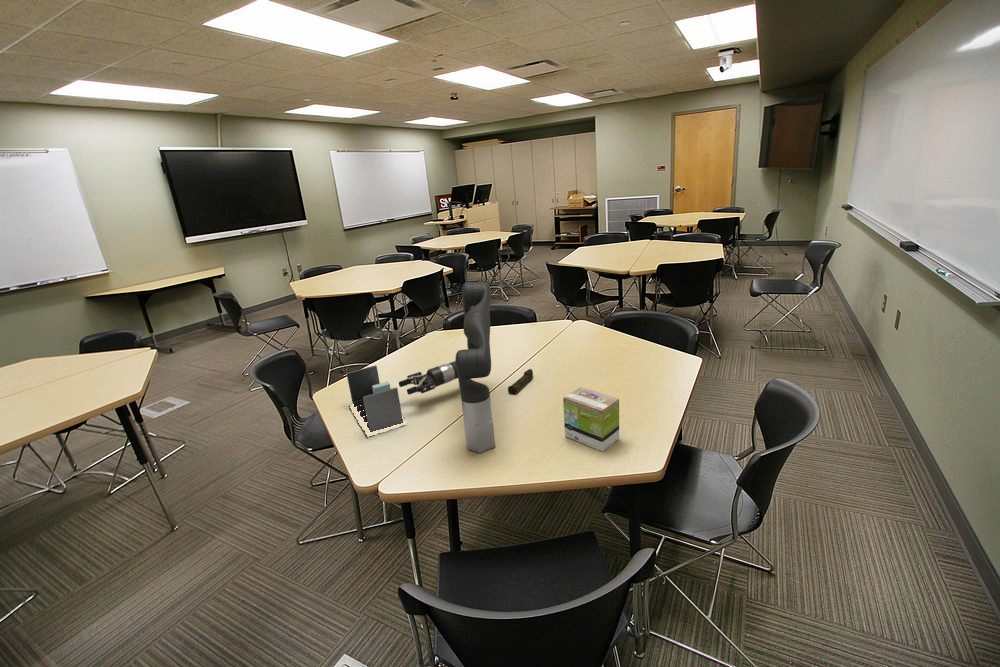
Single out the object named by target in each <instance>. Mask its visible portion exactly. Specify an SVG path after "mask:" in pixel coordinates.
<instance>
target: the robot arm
mask: <svg viewBox="0 0 1000 667" xmlns="http://www.w3.org/2000/svg"><path fill="white" fill-rule="evenodd" d="M491 289H492V288H491V285H490V284H489V283H487V282H483V281H479V282H478V281H477V282H476V281H469V282H468V281H466V282H464V283H463V285H462V289H461V300H462V308H463V315H464V319H463V333H464V336H465V338H466V341H467V342H466V343H467V344H466V345H467V348H465V349H460V350H457V351H456V353H455V359H454V360H455V361H451V362H449V363H445V364H440V365H437V366H435V367H432V368H429V369H427V371H426V373H425V374H422V371H419V372H415V373H412V374H409V375H406V379H404V380H400V381H398V385H399V387H400V388H402V387H406V386H408V385H414V386H412V387H410V388H407V389H406V393H407V395H413V394H415V393H420V394H424V393H428V392H431V391H432V390H434V389H436V388H437V387H439V386H443V385H445V384H448V383H450V382H452V381H455V380H457V379H458V380H457V381H458V386H459V393H460V401H461V409H462V410H461V411H462V418H463V427H464V434H465V441H466V448H467V449H468V450H470V451H471V452H476V453H478V454H481V453H484V452H486V451H488V450H491V449H493V448H495V447H496V440H495V438H496V437H495V431H494V429H495V428H494V421H493V415H492V414H493V413H492V404H491V402H492V401H491V394H490V388H489V387H488V385H486V384H485V383H481V382H478V381H476V380H474V379H482V378H483V379H484V378H487V377H488V376H490V374H491V371H492V356H491V355H492V354H491V344H490V343H491V342H490V339H491V338H490V337H491V336H490V335H491V315H490V314H491V313H490V312H491V310H490V309H491V299H492V290H491Z"/></svg>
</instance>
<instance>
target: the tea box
mask: <svg viewBox="0 0 1000 667" xmlns="http://www.w3.org/2000/svg"><path fill="white" fill-rule="evenodd" d="M562 400H563V401H562V402H563V404H562V406H563V419H564V420H563V422H564V425H563V426H564V436H565V437H567V438H569V439H570V440H571V439H572V440H574V441H577V442H578V443H581V444H583V445H586V446H588V447H590V448H593V449H595V450H598V451H599V452H604V451H606V450H607V449H608V448H609V447H610V446H612V445H613V444H614V443H615V442H617V441H618V440H619V439H620V399H619V398H616V397H613V396H611V395H607V394H604V393H601V392H597V391H595V390H591V389H588V388H586V387H581V386H580V387H578V388H577V389H576V390H574V391H572V392H570V393H569V394H567V395H566V396H564V397H563V398H562Z"/></svg>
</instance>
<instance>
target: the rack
mask: <svg viewBox="0 0 1000 667" xmlns="http://www.w3.org/2000/svg"><path fill="white" fill-rule="evenodd" d="M345 374H346V378H347V383H348V389H349V392H350V393H349V394H350V398H351V402H352V403H353V404H354V407H356V406H357V411H358V412H359V411H361V412H360V416H361V417H363V416H365V417H363V419H364V422H368V423H367V427H368V428H369V430H370V432H373V431H376V430H380V429H384V428H387V427H391V426H393V425H397V424H401V423H403V419H402V416H403V413H402V407H401V402H400V396H399V391H398V387H393V388H392V387H391V389H389V390H385V391H382V392H378V393H375V394H373V388H372V386H373V385H377V384H380V378H379V372H378V366H377V364H376V365H372V366H367V367H364V368H361V369H356V370H353V371H352V370H351V371H349V372H345ZM352 403H351V404H352ZM360 405H361V406H360ZM363 410H364V411H363ZM366 415H367V416H366Z"/></svg>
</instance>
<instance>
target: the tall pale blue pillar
mask: <svg viewBox="0 0 1000 667" xmlns="http://www.w3.org/2000/svg"><path fill="white" fill-rule="evenodd" d="M372 388H373V394H375V393H378V392H382V391H385V390H389V389H392V387H391V383H390V382H388V381H385V382H381V383H380V384H377V385H373V386H372Z"/></svg>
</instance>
